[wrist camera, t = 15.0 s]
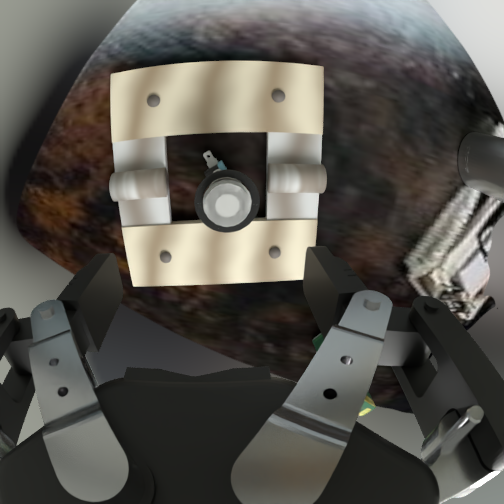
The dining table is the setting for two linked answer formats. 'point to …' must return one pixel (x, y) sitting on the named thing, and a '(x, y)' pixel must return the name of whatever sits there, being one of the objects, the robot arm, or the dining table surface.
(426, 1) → the dining table surface
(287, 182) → the hinge plate
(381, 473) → the robot arm
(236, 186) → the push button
